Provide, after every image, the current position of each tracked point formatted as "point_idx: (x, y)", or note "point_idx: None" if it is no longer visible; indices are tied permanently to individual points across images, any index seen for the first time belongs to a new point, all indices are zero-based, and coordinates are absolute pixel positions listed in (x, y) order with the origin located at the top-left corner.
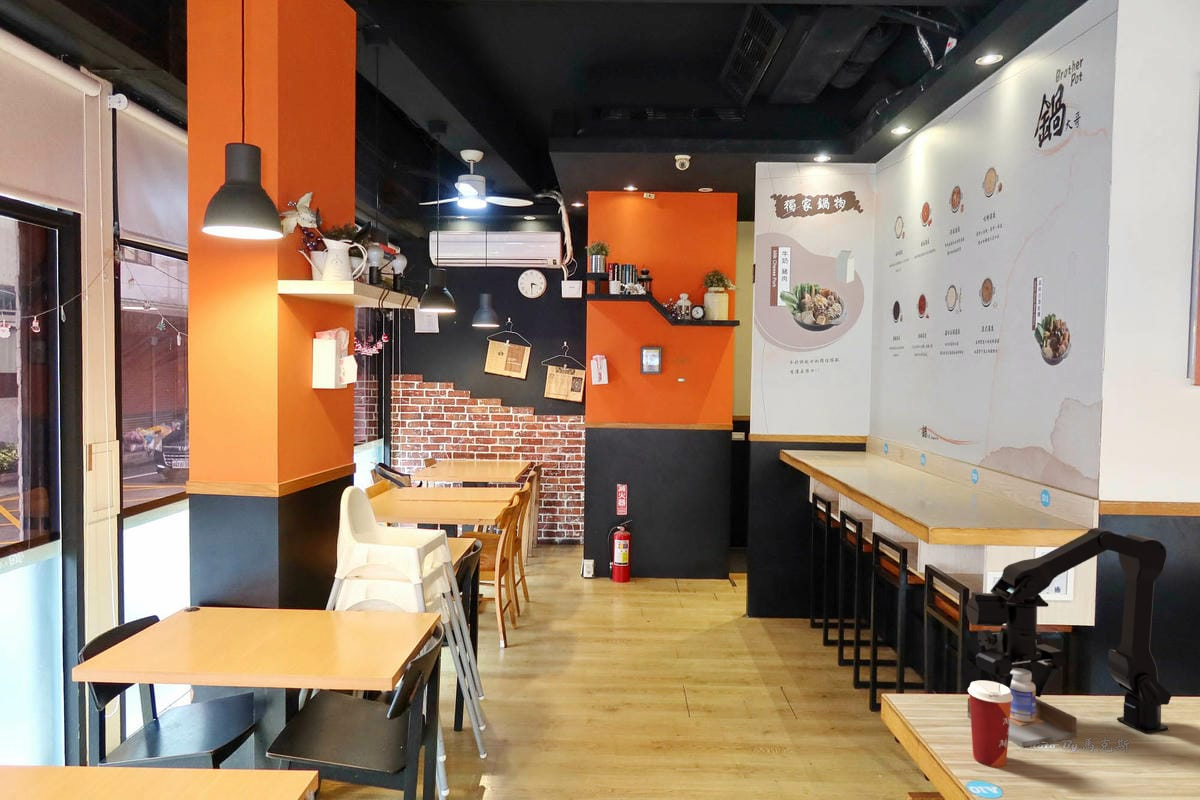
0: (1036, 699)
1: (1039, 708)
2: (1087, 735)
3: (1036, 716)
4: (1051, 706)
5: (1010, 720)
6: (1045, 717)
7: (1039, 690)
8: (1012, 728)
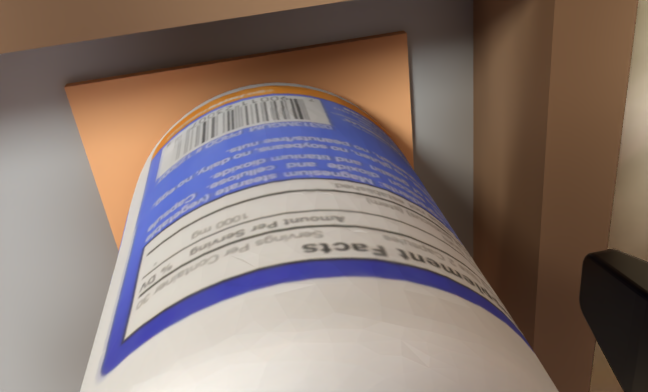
0: (591, 200)
1: (510, 244)
2: (597, 387)
3: (454, 190)
4: (578, 364)
5: (118, 251)
6: (483, 270)
7: (636, 385)
8: (41, 379)
